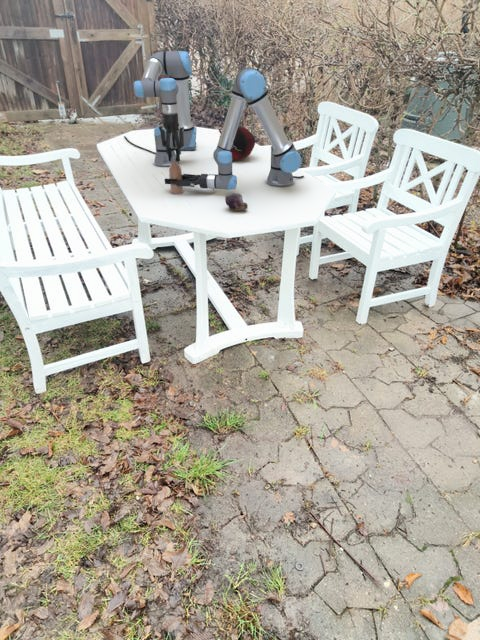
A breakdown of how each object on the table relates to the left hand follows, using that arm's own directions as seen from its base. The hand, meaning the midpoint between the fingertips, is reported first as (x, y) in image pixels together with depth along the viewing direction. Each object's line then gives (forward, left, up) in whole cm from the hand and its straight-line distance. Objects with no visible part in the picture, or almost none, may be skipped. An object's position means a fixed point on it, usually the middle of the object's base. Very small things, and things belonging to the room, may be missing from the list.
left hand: (174, 160), depth 239 cm
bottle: (0, 0, -17) cm, 17 cm away
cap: (0, 0, +2) cm, 2 cm away
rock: (+43, +1, -17) cm, 46 cm away
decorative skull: (-21, +71, -17) cm, 76 cm away
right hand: (-4, -3, -10) cm, 11 cm away
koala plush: (-69, +66, -17) cm, 97 cm away
